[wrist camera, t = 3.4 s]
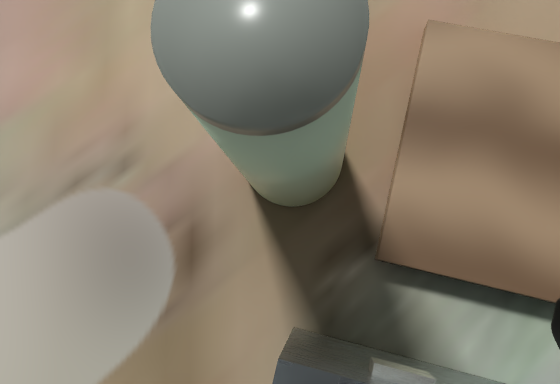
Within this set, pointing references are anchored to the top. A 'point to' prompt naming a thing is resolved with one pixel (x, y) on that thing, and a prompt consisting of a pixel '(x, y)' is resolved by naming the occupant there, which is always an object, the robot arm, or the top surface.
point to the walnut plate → (480, 163)
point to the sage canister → (268, 83)
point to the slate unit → (356, 364)
